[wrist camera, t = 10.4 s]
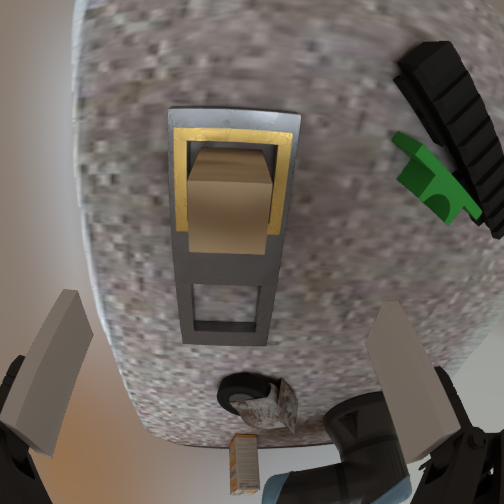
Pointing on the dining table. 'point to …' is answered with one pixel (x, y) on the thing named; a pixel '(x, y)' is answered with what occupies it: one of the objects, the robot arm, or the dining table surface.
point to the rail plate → (227, 264)
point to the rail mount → (457, 124)
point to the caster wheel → (259, 402)
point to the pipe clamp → (433, 182)
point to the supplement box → (244, 465)
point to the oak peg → (229, 201)
